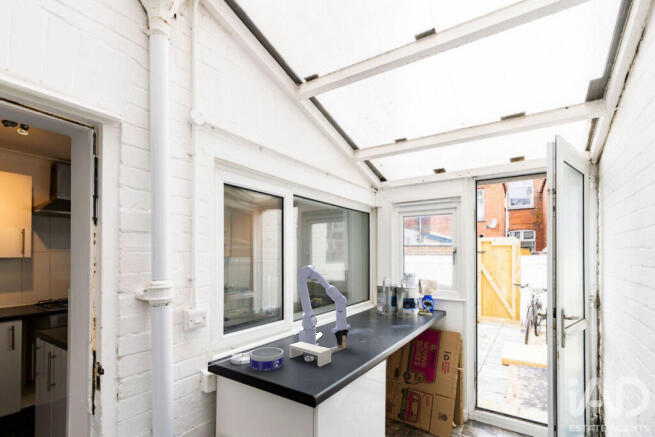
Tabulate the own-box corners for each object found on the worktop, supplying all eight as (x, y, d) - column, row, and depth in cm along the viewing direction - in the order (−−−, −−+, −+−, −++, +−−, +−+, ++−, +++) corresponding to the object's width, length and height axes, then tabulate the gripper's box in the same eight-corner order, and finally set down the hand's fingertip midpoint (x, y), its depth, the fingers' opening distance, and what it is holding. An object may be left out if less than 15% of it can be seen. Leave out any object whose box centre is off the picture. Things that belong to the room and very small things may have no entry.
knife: (316, 328, 217) (327, 329, 215) (316, 331, 217) (327, 331, 215) (302, 338, 188) (315, 339, 187) (302, 341, 188) (315, 342, 186)
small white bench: (289, 357, 159) (289, 344, 159) (300, 353, 165) (300, 341, 166) (320, 366, 146) (320, 352, 147) (331, 362, 152) (331, 348, 153)
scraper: (313, 355, 162) (313, 342, 162) (339, 346, 178) (338, 334, 178) (321, 357, 158) (321, 344, 159) (346, 348, 175) (346, 335, 175)
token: (302, 360, 155) (302, 357, 155) (308, 358, 158) (308, 355, 158) (309, 362, 152) (309, 359, 152) (315, 360, 155) (315, 357, 156)
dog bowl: (268, 373, 138) (269, 359, 139) (242, 367, 145) (242, 353, 146) (289, 363, 151) (290, 349, 152) (264, 358, 159) (264, 345, 159)
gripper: (339, 321, 169) (339, 348, 167) (354, 317, 180) (354, 342, 179) (328, 319, 173) (328, 346, 172) (344, 315, 184) (344, 340, 183)
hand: (341, 344), depth 175 cm, fingers closed on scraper, 2 cm apart
